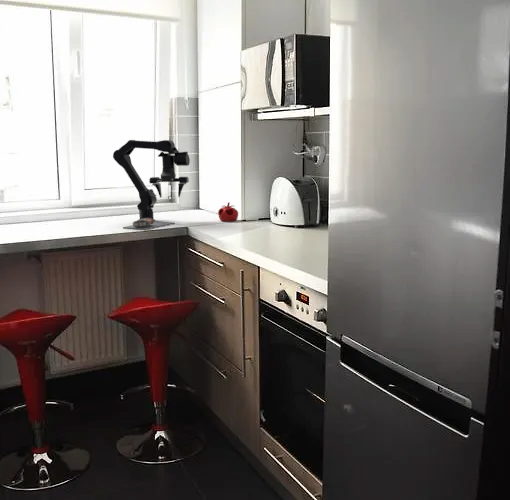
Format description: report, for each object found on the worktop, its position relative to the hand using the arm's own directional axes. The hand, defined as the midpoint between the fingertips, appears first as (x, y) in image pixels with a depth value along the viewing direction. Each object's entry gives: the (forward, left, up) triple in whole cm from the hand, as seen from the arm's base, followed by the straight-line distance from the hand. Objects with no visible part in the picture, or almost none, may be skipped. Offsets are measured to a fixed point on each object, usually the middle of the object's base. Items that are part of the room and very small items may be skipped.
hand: (169, 197), depth 298 cm
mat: (+1, -18, -12) cm, 21 cm away
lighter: (0, -19, -10) cm, 21 cm away
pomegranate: (+26, +13, -12) cm, 32 cm away
